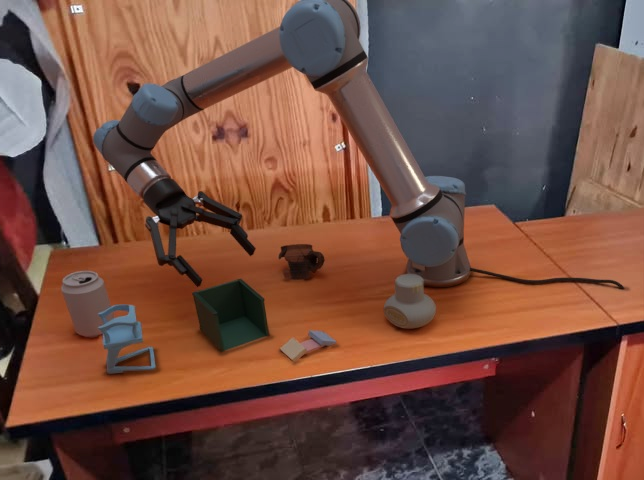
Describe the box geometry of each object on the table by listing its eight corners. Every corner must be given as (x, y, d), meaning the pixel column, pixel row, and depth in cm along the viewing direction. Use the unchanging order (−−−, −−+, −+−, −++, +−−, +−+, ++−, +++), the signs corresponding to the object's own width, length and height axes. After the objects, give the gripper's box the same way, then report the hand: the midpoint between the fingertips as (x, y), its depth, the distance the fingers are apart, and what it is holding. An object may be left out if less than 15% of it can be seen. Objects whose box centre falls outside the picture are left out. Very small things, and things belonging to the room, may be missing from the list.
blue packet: (322, 340, 133) (321, 345, 133) (336, 341, 135) (335, 346, 135) (309, 330, 136) (307, 334, 136) (323, 331, 138) (321, 335, 138)
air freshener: (378, 320, 144) (375, 277, 139) (405, 305, 149) (404, 264, 144) (415, 338, 138) (414, 295, 133) (442, 323, 144) (442, 281, 138)
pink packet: (292, 345, 133) (293, 349, 134) (301, 353, 131) (301, 357, 132) (315, 337, 136) (315, 341, 137) (323, 344, 134) (324, 348, 134)
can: (101, 341, 134) (84, 288, 127) (68, 336, 135) (49, 283, 129) (124, 322, 140) (109, 270, 134) (92, 318, 141) (75, 266, 135)
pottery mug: (272, 282, 158) (268, 246, 157) (295, 282, 167) (291, 248, 166) (317, 277, 154) (313, 240, 153) (338, 278, 163) (334, 243, 162)
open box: (200, 331, 138) (191, 292, 133) (247, 316, 144) (240, 278, 139) (221, 354, 132) (213, 314, 127) (270, 337, 137) (264, 298, 132)
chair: (106, 359, 129) (89, 304, 123) (153, 350, 132) (139, 295, 126) (107, 381, 124) (89, 324, 117) (156, 371, 127) (141, 315, 120)
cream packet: (291, 359, 129) (294, 362, 130) (305, 347, 130) (307, 351, 131) (279, 348, 132) (282, 351, 133) (292, 336, 133) (295, 340, 134)
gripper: (204, 176, 149) (269, 249, 150) (101, 225, 134) (173, 306, 135) (210, 155, 143) (277, 231, 144) (102, 204, 128) (178, 288, 129)
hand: (227, 267), depth 139 cm, fingers open, 13 cm apart
